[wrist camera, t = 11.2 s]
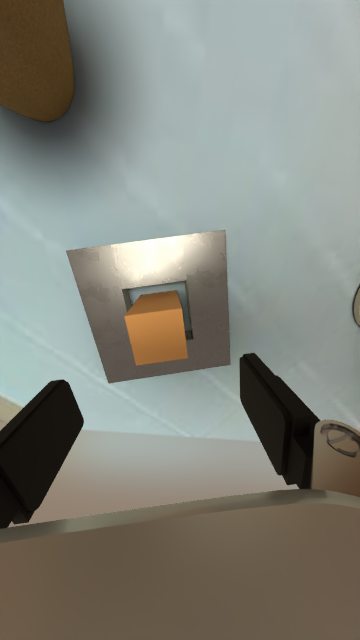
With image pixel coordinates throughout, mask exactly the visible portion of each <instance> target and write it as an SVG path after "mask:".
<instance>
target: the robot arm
mask: <svg viewBox="0 0 360 640" xmlns="http://www.w3.org/2000/svg"><path fill="white" fill-rule="evenodd" d="M354 315H355V319H356V321H357V323H358V324H359V326H360V288H359V290H358V293H357V295H356V298H355V302H354ZM240 399H241V402H242V405H243V407H244V409H245V411H246V413H247V415H248V417H249V419H250V421H251V423H252V425H253V427H254V429H255V431H256V433H257V435H258V437H259V439H260V441H261V443H262V445H263V447H264V449H265V451H266V452H267V455H268V457H269V459H270V461H271V463H272V465H273V467H274V469H275V471H276V472H277V474H278V475H282V476H283V478H284V480H285V482H286V484H287V485H291V484H297V486H298V487H299V489H294V490H277V491H269V492H260V493H251V494H243V495H234V496H226V497H220V498H211V499H204V500H197V501H190V502H182V503H175V504H168V505H160V506H153V507H147V508H139V509H132V510H125V511H118V512H112V513H104V514H98V515H90V516H84V517H77V518H70V519H63V520H56V521H50V522H43V523H36V524H30V525H23V526H16V527H10V528H7V527H8V526H9V524H10V523H11V521H12V522H13V523H14V524H20V523H27V522H29V520H30V518H31V517H32V515H33V513H34V511H35V510H36V509H37V508H39V506H40V505H41V503H42V501H43V499H44V497H45V496H46V494H47V492H48V490H49V488H50V486H51V484H52V482H53V481H54V479H55V477H56V475H57V473H58V471H59V470H60V468H61V466H62V464H63V462H64V460H65V458H66V456H67V455H68V453H69V451H70V449H71V447H72V445H73V444H74V442H75V440H76V438H77V436H78V434H79V432H80V430H81V429H82V427H83V424H84V419H83V417H82V414H81V412H80V409H79V407H78V404H77V402H76V400H75V397H74V395H73V392H72V390H71V387H70V385H69V383H68V382H66V381H65V380H55V381H51V382H49V383H48V384H47V385H46V386H45V387H44V388H43V389H42V390H41V391H40V392H39V393H38V394H37V395H36V396H35V397H34V398H33V399H32V400H31V401H30V402H29V403H28V404H27V405H26V406H25V407H24V408H23V409H22V410H21V411H20V412H19V413H18V414H17V415H16V416H15V417H14V418H13V419H12V420H11V421H10V422H9V423H8V424H7V425H6V426H5V427H4V428H3V429H2V430H1V431H0V640H360V432H359V431H357V430H356V429H354V428H352V427H351V426H349V425H346V424H344V423H342V422H338V421H335V420H322V421H320V420H319V419H318V417H317V416H316V415H315V414H314V413H313V412H312V411H311V410H310V409H309V408H308V407H307V406H306V405H305V404H304V403H303V402H302V400H301V399H300V398H299V397H298V396H297V395H296V394H295V393H294V392H293V391H292V390H291V389H290V388H289V387H288V386H287V385H286V384H285V382H284V381H283V380H282V379H281V378H280V377H278V376H275V375H274V374H273V372H272V371H271V370H270V369H269V368H268V367H267V366H266V365H265V364H264V363H263V362H262V361H261V359H260V358H259V357H258V356H257V355H256V354H255V353H250V354H243V357H241V358H240Z"/></svg>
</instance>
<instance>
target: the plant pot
mask: <svg viewBox="0 0 360 640" xmlns="http://www.w3.org/2000/svg"><path fill="white" fill-rule="evenodd" d="M73 94H74V71H73V63H72V56H71V48H70V41H69V34H68V28H67V22H66V16H65V10H64V4H63V0H0V105H1V106H4V107H6V108H8V109H10V110H12V111H14V112H17V113H19V114H21V115H24V116H26V117H29V118H31V119H34V120H37V121H43V122H47V121H53V120H56V119H58V118H60V117H61V116H62V115H63V114H64V113H65V112H66V111H67V109H68V108H69V106H70V104H71V102H72V99H73Z"/></svg>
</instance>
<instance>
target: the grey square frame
mask: <svg viewBox="0 0 360 640" xmlns="http://www.w3.org/2000/svg"><path fill="white" fill-rule="evenodd" d="M66 252H67V255H68V258H69V262H70V265H71V268H72V271H73V274H74V277H75V280H76V283H77V287H78V290H79V293H80V296H81V299H82V302H83V305H84V308H85V311H86V315H87V318H88V321H89V324H90V327H91V330H92V333H93V336H94V339H95V343H96V346H97V349H98V352H99V355H100V358H101V361H102V364H103V368H104V371H105V374H106V377H107V380H108V383H114V382H121V381H127V380H134V379H140V378H147V377H153V376H160V375H166V374H173V373H179V372H186V371H192V370H199V369H205V368H212V367H219V366H225V365H230V340H229V313H228V287H227V260H226V233H225V230H220V231H212V232H204V233H197V234H189V235H182V236H174V237H167V238H159V239H151V240H144V241H136V242H129V243H121V244H113V245H106V246H98V247H91V248H83V249H76V250H68V251H66ZM178 281H185V286H186V295H187V303H188V312H189V320H190V329H191V331H187V332H185V338H186V347H187V355H188V358H185V359H178V360H171V361H165V362H158V363H151V364H144V365H137V366H136V363H135V359H134V355H133V351H132V346H131V342H130V338H129V334H128V330H127V325H126V321H125V317H124V316H125V315H126V313H127V312H128V311H129V309H130V308H131V307H132V305H131V301H130V296H129V292H128V288H135V287H142V286H149V285H157V284H164V283H171V282H178Z"/></svg>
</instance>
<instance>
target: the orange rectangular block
mask: <svg viewBox="0 0 360 640" xmlns="http://www.w3.org/2000/svg"><path fill="white" fill-rule="evenodd" d="M124 317H125V321H126V325H127V330H128V334H129V338H130V342H131V346H132V351H133V355H134V359H135V363H136V366H137V365H144V364H151V363H158V362H165V361H171V360H178V359H185V358H188V355H187V347H186V338H185V330H184V322H183V313H182V307H181V304H180V301H179V298H178V295H177V291H176V290H175V291H167V292H160V293H152V294H145V295H141V296H140V297H139V298H138V299H137V301H136V302H135V303H134V304H133V306H132V307H131V308H130V309H129V311H128V312H127V313H126V315H125V316H124Z"/></svg>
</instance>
